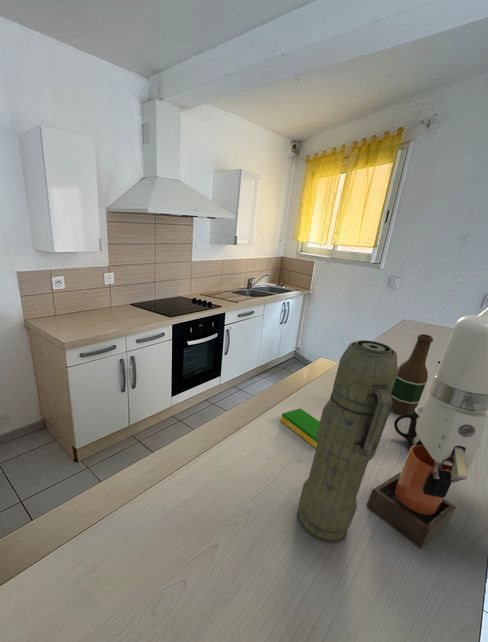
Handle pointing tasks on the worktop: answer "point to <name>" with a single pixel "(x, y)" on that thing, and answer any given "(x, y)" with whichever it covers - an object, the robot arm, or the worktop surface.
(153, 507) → the worktop surface
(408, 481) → the cup
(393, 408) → the beer bottle
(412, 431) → the mug
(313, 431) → the dish sponge
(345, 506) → the thermos
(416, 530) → the brown rectangular open box
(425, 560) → the worktop surface
